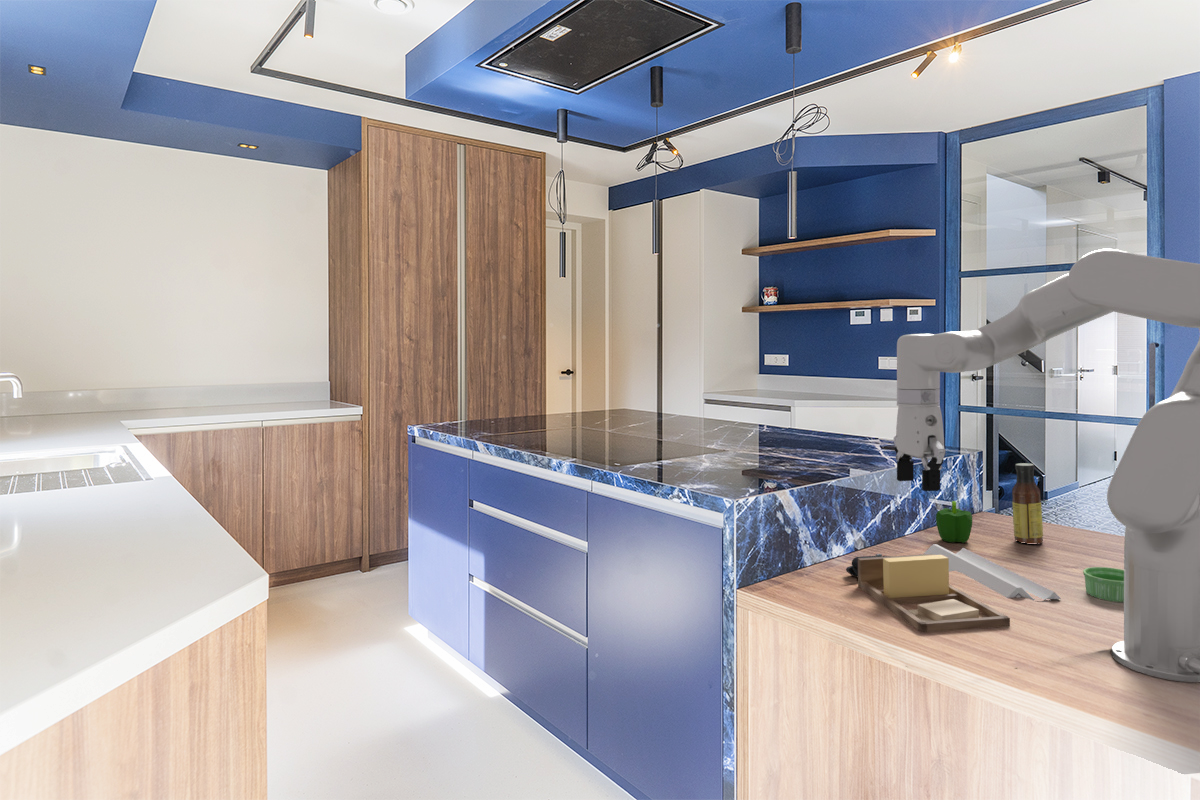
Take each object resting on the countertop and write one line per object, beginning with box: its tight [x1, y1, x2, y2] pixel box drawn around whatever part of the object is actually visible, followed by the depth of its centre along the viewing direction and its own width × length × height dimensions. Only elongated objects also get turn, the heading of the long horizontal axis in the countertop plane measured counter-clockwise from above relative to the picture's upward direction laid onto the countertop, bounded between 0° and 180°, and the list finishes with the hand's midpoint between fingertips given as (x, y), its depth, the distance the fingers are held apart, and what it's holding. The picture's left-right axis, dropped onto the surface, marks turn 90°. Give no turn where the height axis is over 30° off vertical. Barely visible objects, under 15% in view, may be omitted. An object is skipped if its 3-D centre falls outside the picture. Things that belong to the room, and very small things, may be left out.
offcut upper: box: [917, 599, 980, 621], centre depth 123 cm, size 6×8×2 cm
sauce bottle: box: [1011, 462, 1044, 544], centre depth 170 cm, size 7×6×20 cm
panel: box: [883, 555, 950, 598], centre depth 133 cm, size 2×12×9 cm, turn 94°
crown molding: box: [923, 543, 1062, 601], centre depth 146 cm, size 31×12×4 cm, turn 2°
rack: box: [857, 553, 1011, 633], centre depth 129 cm, size 24×16×7 cm, turn 4°
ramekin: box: [1082, 566, 1124, 603], centre depth 133 cm, size 9×9×4 cm
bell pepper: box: [935, 500, 973, 543], centre depth 174 cm, size 8×8×10 cm
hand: (917, 485), depth 132 cm, fingers open, 9 cm apart
